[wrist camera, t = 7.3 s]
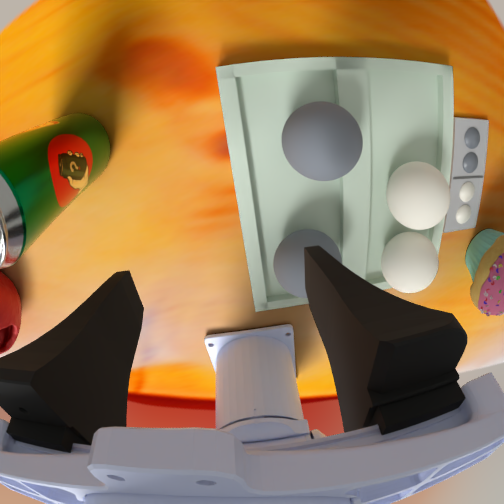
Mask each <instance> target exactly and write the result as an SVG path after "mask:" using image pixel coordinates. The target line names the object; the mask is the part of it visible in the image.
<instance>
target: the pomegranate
mask: <svg viewBox="0 0 504 504" xmlns="http://www.w3.org/2000/svg"><path fill="white" fill-rule="evenodd" d="M20 325H21V302H20V298H19V295H18V293H17V290H16V288H15V286H14V284H13V282H12V281H11V280H10V279H9V278H8V277H7V276H5V275H4V274H3V273H2V272H1V271H0V354H2V353H4V352H6V351H8V350H9V349H10V348H11V347H12V345H13V344H14V342H15V341H16V339H17V336H18V333H19V329H20Z"/></svg>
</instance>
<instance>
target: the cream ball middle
mask: <svg viewBox="0 0 504 504" xmlns="http://www.w3.org/2000/svg"><path fill="white" fill-rule="evenodd" d="M386 199H387V204H388V207H389V209H390V211H391V213H392V215H393V216H394V217H395V219H396V220H397V221H399V222H400V223H401V224H402V225H404V226H406V227H408V228H411V229H415V230H424V229H429V228H431V227H433V226H435V225H437V224H438V223H439V222H440V221H441V220H442V219H443V218H444V217H445V215H446V213H447V211H448V209H449V205H450V189H449V186H448V183H447V181H446V179H445V177H444V176H443V174H442V173H441V172H440V171H439V170H438V169H437V168H435V167H434V166H432V165H430V164H428V163H425V162H420V161H414V162H409V163H406V164H403V165H402V166H400V167H399V168H397V169H396V170H395V171H394V173H393V174H392V175H391V177H390V179H389V181H388V184H387V188H386Z"/></svg>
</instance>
